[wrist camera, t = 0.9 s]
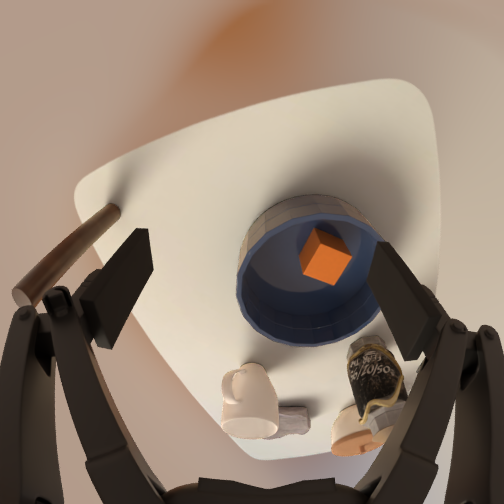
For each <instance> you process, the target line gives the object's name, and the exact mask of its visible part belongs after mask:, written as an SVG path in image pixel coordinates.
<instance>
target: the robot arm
mask: <svg viewBox="0 0 504 504" xmlns="http://www.w3.org/2000/svg"><path fill="white" fill-rule="evenodd" d="M153 270H154V269H153V262H152V255H151V248H150V240H149V232H148V229H144V228H136V229H135V230H134V231H133V232H132V233H131V235H130V236H129V237H128V238H127V239H126V240H125V242H124V243H123V244H122V245H121V246H120V247H119V249H118V250H117V251H116V252H115V253H114V255H113V256H112V257H111V258H110V259H109V261H108V262H107V263H106V264H105V266H104V267H103V268H102V269H96V270H95V271H93V272H92V273H91V274H89V275H88V276H87V278H86V279H85V280H84V282H82V284H81V285H80V287H79V288H78V289H77V290H76V291H75V293H74V294H73V295H72V296H71V295H70V292H69V290H68V288H67V287H65V286H56V287H53V288H51V289H49V290H48V291H46V292H45V293H44V295H43V297H42V301H43V303H44V305H45V308H46V310H47V313H42V314H38V313H37V311H36V309H35V307H34V306H32V305H26V306H22V307H21V308H19V309H18V310H17V311H16V312H15V314H14V315H13V318H12V322H11V325H10V328H9V332H8V336H7V340H6V343H5V347H4V352H3V356H2V360H1V365H0V504H64V497H63V490H62V483H61V477H60V471H59V464H58V455H57V445H56V430H55V368H56V361H57V366H58V370H59V374H60V378H61V382H62V386H63V390H64V393H65V397H66V400H67V403H68V407H69V410H70V413H71V416H72V419H73V422H74V425H75V428H76V431H77V434H78V436H79V439H80V441H81V444H82V447H83V449H84V452H85V454H86V457H87V461H86V462H85V465H86V469H87V472H88V474H89V476H90V478H91V481H92V483H93V485H94V486H95V489H96V491H97V493H98V495H99V496H100V498H101V500H102V502H103V504H423V502H424V500H425V498H426V496H427V494H428V492H429V490H430V488H431V486H432V484H433V481H434V479H435V477H436V474H437V471H438V465H437V464H435V459H436V456H437V454H438V451H439V449H440V446H441V443H442V440H443V438H444V435H445V432H446V429H447V425H448V422H449V419H450V416H451V413H452V409H453V406H454V402H455V403H456V405H455V427H454V440H453V451H452V459H451V466H450V473H449V479H448V484H447V490H446V495H445V501H444V504H504V354H503V350H502V346H501V342H500V338H499V335H498V333H497V332H496V331H495V329H494V328H492V327H491V326H488V325H482V326H481V327H480V328H479V330H478V332H471V331H468V329H467V328H466V326H465V325H464V324H463V323H462V322H461V321H459V320H457V319H450V317H449V316H448V314H447V313H446V311H445V310H444V308H443V307H442V305H441V304H440V303H439V301H438V300H437V298H435V295H434V294H433V293H432V291H431V290H430V289H429V288H427V287H426V286H425V285H421V284H420V283H419V281H418V280H417V278H416V277H415V276H414V274H413V273H412V272H411V270H410V269H409V268H408V266H407V265H406V264H405V262H404V261H403V260H402V259H401V257H400V256H399V255H398V253H397V252H396V251H395V250H394V248H393V247H392V246H391V245H390V243H389V242H382V241H377V244H376V248H375V252H374V255H373V259H372V263H371V266H370V270H369V273H368V277H367V280H366V281H367V283H368V285H369V287H370V289H371V291H372V293H373V295H374V297H375V299H376V301H377V303H378V305H379V307H380V309H381V311H382V313H383V315H384V317H385V319H386V321H387V323H388V326H389V328H390V330H391V332H392V334H393V336H394V339H395V341H396V343H397V345H398V348H399V350H400V352H401V354H402V357H403V359H404V361H411V360H417V359H418V358H419V356H420V355H421V353H422V351H423V352H424V354H425V356H426V357H425V359H424V360H423V362H422V363H421V365H420V366H419V368H418V369H417V371H416V372H417V373H418V375H417V377H416V380H415V382H414V384H413V387H412V389H411V391H410V394H409V396H408V398H407V400H406V403H405V405H404V407H403V409H402V411H401V413H400V415H399V417H398V419H397V421H396V423H395V425H394V427H393V429H392V431H391V433H390V435H389V436H388V438H387V440H386V442H385V444H384V445H383V447H382V449H381V451H380V452H379V454H378V456H377V457H376V459H375V461H374V462H373V464H372V465H371V467H370V469H369V470H368V472H367V473H366V474H365V476H364V477H363V478H362V479H361V480H360V481H359V482H358V483H357V485H356V486H355V487H354V488H352V487H349V486H345V485H341V484H335V478H327V479H318V480H304V481H300V482H296V483H293V484H289V485H285V486H281V487H277V488H273V489H263V488H259V487H255V486H251V485H247V484H243V483H239V482H235V481H231V480H219V479H209V478H200V477H199V481H198V483H192V484H186V485H183V486H179V487H176V488H174V489H172V490H170V491H168V492H167V491H166V489H165V488H164V487H163V485H162V484H161V482H160V481H159V480H158V478H157V477H156V476H155V475H154V473H153V472H152V470H151V469H150V467H149V466H148V464H147V462H146V461H145V459H144V457H143V456H142V454H141V452H140V451H139V449H138V447H137V445H136V444H135V442H134V440H133V438H132V437H131V435H130V433H129V431H128V429H127V427H126V425H125V423H124V421H123V419H122V417H121V415H120V413H119V411H118V409H117V407H116V405H115V403H114V400H113V398H112V396H111V394H110V392H109V389H108V387H107V385H106V382H105V380H104V377H103V375H102V373H101V370H100V368H99V365H98V362H97V360H96V357H95V355H94V352H93V349H92V347H91V342H92V340H93V338H94V339H95V342H96V344H97V346H98V347H101V348H106V349H111V350H112V348H113V346H114V344H115V342H116V340H117V338H118V336H119V334H120V332H121V330H122V328H123V326H124V324H125V322H126V320H127V318H128V316H129V314H130V312H131V311H132V309H133V307H134V305H135V303H136V301H137V299H138V297H139V295H140V294H141V292H142V290H143V288H144V286H145V285H146V283H147V281H148V279H149V277H150V276H151V274H152V272H153Z"/></svg>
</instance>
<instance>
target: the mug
mask: <svg viewBox="0 0 504 504" xmlns="http://www.w3.org/2000/svg"><path fill="white" fill-rule="evenodd" d="M235 373H236V375H235V377H234V378H233V376H234V374H235ZM222 395H223V398H224V402H223V410H222V419H221V427H222V429H223V431H224V432H226V433H227V434H229V435H231V436H234V437H237V438H242V439H261V438H266V437H269V436H271V435H273V434H275V433H276V432H277V430H278V428H279V412H278V399H277V395H276V392H275V389H274V387H273V385H272V383H271V381H270V379H269V377H268V375H267V373H266V371H265V369H264V368H263V367H262V366H261V365H259V364H256V363H247V364H244V365H242V366H241V367H240V368H239V369H237V370H232V371H230V372H227V373H226V374H225V375H224V377H223V380H222Z"/></svg>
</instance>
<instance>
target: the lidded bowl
mask: <svg viewBox="0 0 504 504" xmlns="http://www.w3.org/2000/svg"><path fill="white" fill-rule="evenodd" d="M360 418H361V417H360V415H359V413H358V409H357V405H353V406H350V407H348V408H346V409H344V410H342V411H341V412H340V414H339V416H338V417H337V418H336V420H335V421H334V423H333V426H332V430H331V444H332V447H331V450H332V453H333V454H334V455H337V456H353V455H358V454H364V453H366V452H368V451H371V450H373V449H376V448H378V447H380V446H381V445H383V444H384V443H382V442H373V441H372V438H373V435H372V432H371V429H368V428H367V427H364V426H363V425H362V424H361V425H360V424H359V419H360ZM361 419H362V418H361Z"/></svg>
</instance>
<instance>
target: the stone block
mask: <svg viewBox="0 0 504 504" xmlns="http://www.w3.org/2000/svg"><path fill="white" fill-rule="evenodd" d="M278 412H279V428H278V430H277V432H276V433H275V434H273V435H271V436H269V437H266V438H262V439H266V440H270V439H275V438H281V437H283V436H285V435H288V434H300V435H303V434H306V433H307V432H308V431H309V430H310V428H311V420H310V418H309V416H308V412H307V408H306V407H278Z"/></svg>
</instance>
